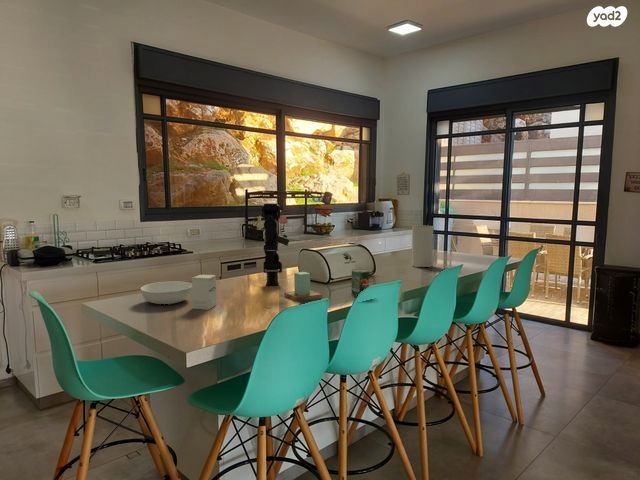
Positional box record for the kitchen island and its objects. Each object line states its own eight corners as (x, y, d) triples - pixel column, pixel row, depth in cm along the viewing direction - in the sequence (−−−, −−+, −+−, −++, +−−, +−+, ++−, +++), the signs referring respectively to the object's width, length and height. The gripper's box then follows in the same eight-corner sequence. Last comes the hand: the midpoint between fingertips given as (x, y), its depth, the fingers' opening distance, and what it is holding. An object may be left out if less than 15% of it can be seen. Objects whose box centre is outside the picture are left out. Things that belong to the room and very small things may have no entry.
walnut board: (284, 297, 198) (284, 292, 198) (308, 294, 204) (308, 289, 204) (297, 303, 188) (297, 297, 187) (321, 299, 194) (321, 294, 194)
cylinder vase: (431, 268, 269) (432, 227, 267) (410, 267, 274) (410, 226, 271) (433, 265, 281) (434, 225, 278) (413, 264, 285) (414, 225, 283)
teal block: (294, 293, 196) (294, 272, 195) (304, 291, 199) (304, 271, 198) (300, 295, 192) (300, 274, 191) (310, 293, 195) (310, 273, 194)
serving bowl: (129, 305, 182) (129, 289, 182) (165, 294, 202) (164, 279, 201) (171, 310, 175) (170, 293, 174) (203, 298, 194) (203, 283, 193)
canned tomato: (352, 292, 206) (352, 268, 205) (369, 292, 205) (369, 269, 204) (350, 295, 199) (350, 271, 198) (368, 296, 197) (368, 272, 196)
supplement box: (209, 309, 175) (208, 278, 174) (191, 309, 177) (190, 277, 176) (217, 305, 183) (216, 274, 181) (200, 304, 184) (199, 274, 183)
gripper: (288, 231, 197) (289, 266, 199) (288, 228, 215) (288, 260, 217) (263, 231, 196) (263, 266, 198) (265, 228, 215) (265, 260, 216)
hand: (271, 263), depth 207 cm, fingers open, 9 cm apart
